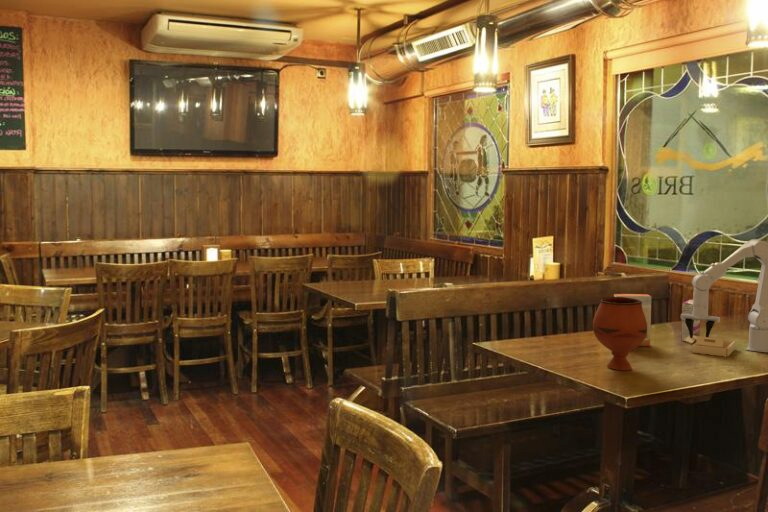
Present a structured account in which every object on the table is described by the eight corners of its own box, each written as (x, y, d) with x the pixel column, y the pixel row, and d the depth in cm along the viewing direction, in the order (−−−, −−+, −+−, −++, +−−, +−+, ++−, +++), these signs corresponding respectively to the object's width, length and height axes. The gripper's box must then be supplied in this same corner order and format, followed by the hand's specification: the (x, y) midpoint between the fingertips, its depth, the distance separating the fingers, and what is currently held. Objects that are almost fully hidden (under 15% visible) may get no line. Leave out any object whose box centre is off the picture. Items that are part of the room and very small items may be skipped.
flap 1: (691, 334, 314) (690, 335, 315) (683, 339, 304) (683, 340, 304) (698, 337, 313) (698, 338, 313) (692, 342, 302) (691, 343, 302)
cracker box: (646, 343, 318) (648, 293, 315) (650, 346, 312) (652, 296, 309) (612, 342, 319) (613, 293, 317) (615, 346, 313) (616, 295, 311)
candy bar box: (687, 336, 331) (689, 299, 329) (699, 338, 328) (701, 300, 326) (680, 341, 322) (681, 302, 320) (692, 342, 319) (694, 303, 317)
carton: (735, 349, 308) (735, 340, 307) (727, 357, 294) (728, 348, 294) (700, 345, 315) (701, 337, 315) (691, 352, 301) (692, 344, 301)
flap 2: (697, 336, 301) (697, 336, 301) (723, 339, 296) (723, 339, 295) (696, 344, 300) (696, 343, 300) (722, 347, 295) (722, 347, 294)
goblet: (604, 358, 292) (606, 293, 289) (654, 366, 280) (657, 299, 277) (582, 368, 277) (584, 300, 274) (634, 377, 265) (637, 306, 262)
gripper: (679, 304, 307) (678, 337, 309) (718, 308, 299) (716, 342, 301) (683, 302, 313) (682, 334, 315) (721, 305, 305) (719, 338, 307)
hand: (699, 338), depth 308 cm, fingers open, 5 cm apart
